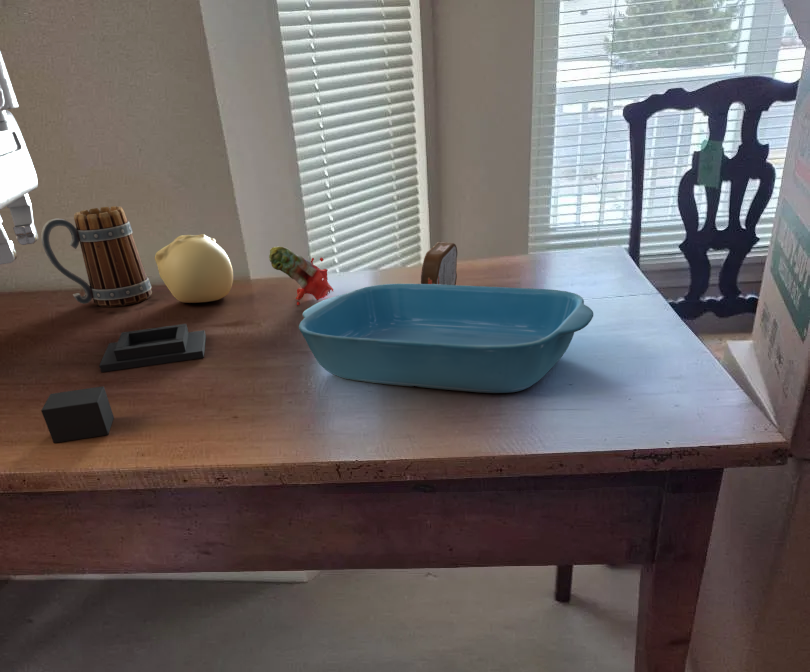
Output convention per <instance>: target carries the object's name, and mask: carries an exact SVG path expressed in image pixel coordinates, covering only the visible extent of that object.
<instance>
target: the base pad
mask: <svg viewBox="0 0 810 672" xmlns="http://www.w3.org/2000/svg"><path fill="white" fill-rule="evenodd" d="M206 338H207V335H206V331H205V330H204V329H202V330H195V331H189V329H188V324H187V323H181V324H174V325H166V326H159V327H153V328H152V327H151V328H145V329H138V330H137V329H136V330H129V331H123V332H120V335H119V337H118V340H117V341H115V342H109V343H108V344H107V347H106V349H105V352H104V354H103V355H102V359H101V361H100V363H99V371H100V372H101V373H106V372H113V371H114V372H115V371H120V370H128V369H134V368H142V367H149V366H154V365H155V366H156V365H163V364H170V363H177V362H185V361H191V360H199V359H204V358H205V350H206Z"/></svg>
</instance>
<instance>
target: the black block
mask: <svg viewBox="0 0 810 672" xmlns="http://www.w3.org/2000/svg"><path fill="white" fill-rule="evenodd" d="M40 411H41V414H42V417H43V419H44V422H45V424H46V427H47V430H48V431H49V435H50V438H51V440H52V443H53V444H57V443H64V442H72V441H78V440H82V439H83V440H84V439H89V438H96V437H103V436H104V437H105V436H108V435H109V434H110V431H111V429H112V424H113V422H114V418H115V416H114V413H113V409H112V406H111V404H110V400H109V397H108V394H107V392H106V389H105V386H103V385H102V386H96V387H89V388H81V389H74V390H67V391H60V392H53V393H50V394H49V395H48V397H47V399H46V401H45V403H44V404H43V407H42V408H41V410H40Z"/></svg>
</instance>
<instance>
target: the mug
mask: <svg viewBox="0 0 810 672" xmlns="http://www.w3.org/2000/svg"><path fill="white" fill-rule="evenodd" d="M73 220H74V223H75V225H74V224H73V223H72V222H69V221H68V220H66V219H63V218H51V219H49V220H47V221H46V222H45V223H44V224H43V227H42V229H41V234H40V239H41V245H42V248H43V250H44V252H45V254H46V256H47V258H48V260H49V261H50V263H51V264H52V265H53V266H54V268H55V269H57V271H59V272H60V273H61V274H62V275H63V276H65V277H67V278H68V279H69V280H71V281H73V282H75V283H76V284H78V285H79V286H81V287H82V288H83V290H84V295H83V296H82V295H81V294H80V292H76V293H73V294H72V296H73V298H74V299H75V300H76V301H77V302H78V303H80V304H84V305H86V304H89V303H90V302H91V301H92V300H93V301H92V302H93V303H94V304H96V305H97V306H99V307H102V308H117V307H125V306H130V305H134V304H138V303H141V302H143V301H146V300H147V299H149V298H150V297H151V295H152V293H153V291H152V284H151V282H150V279H149V276H148V275H147V273H146V270H145V267H144V265H143V262H142V257H141V255H140V252H139V250H138V247H137V243H136V241H135V238H134V235H133V229H132V225H131V223H130V221H129V220H128V217H127V215H126V212H125V210H124V209H123V206H117V205H113V206H110V207H109V206H101V207H100V209H99V208H98V207H93V208H89V210H88V209H84V210H80V211H76V212H74V214H73ZM56 227H65V228H66V229H67V230H68V231H69V233H70V236H71V239H70V242H69V244H68V245H69V246H71V248H73V249H75V250H77V248H78V247H79V245H80V248H81V253H82V258H83V262H84V266H85V271H86V274H87V279H88V283H89V284H88V283H87V281H85V280H84V279H82V278H81V276H80V277H79V276H78V275H76V274H74V273H73V272H72V271H70V270H69V269H67V268H65V267H64V266H63V265H62V264H61V262H59V260H58V259H57V257H56V255H55V253H54V251H53V249H52V247H51V243H50V234H51V232H52V231H53V229H54V228H56Z"/></svg>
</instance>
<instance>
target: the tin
mask: <svg viewBox="0 0 810 672" xmlns="http://www.w3.org/2000/svg"><path fill="white" fill-rule="evenodd" d="M457 260H458V247H457V245H456V244H455V243H454V242H447V241H441V240H439V241H438V242H436V243H435V244H434V245H433V246H432V247H431V248H429V250H428V251H426V253H425V255H424V258H423V262H422V267H421V273H420V284H439V285H457V277H458V273H457V266H458V265H457V262H458V261H457Z"/></svg>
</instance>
